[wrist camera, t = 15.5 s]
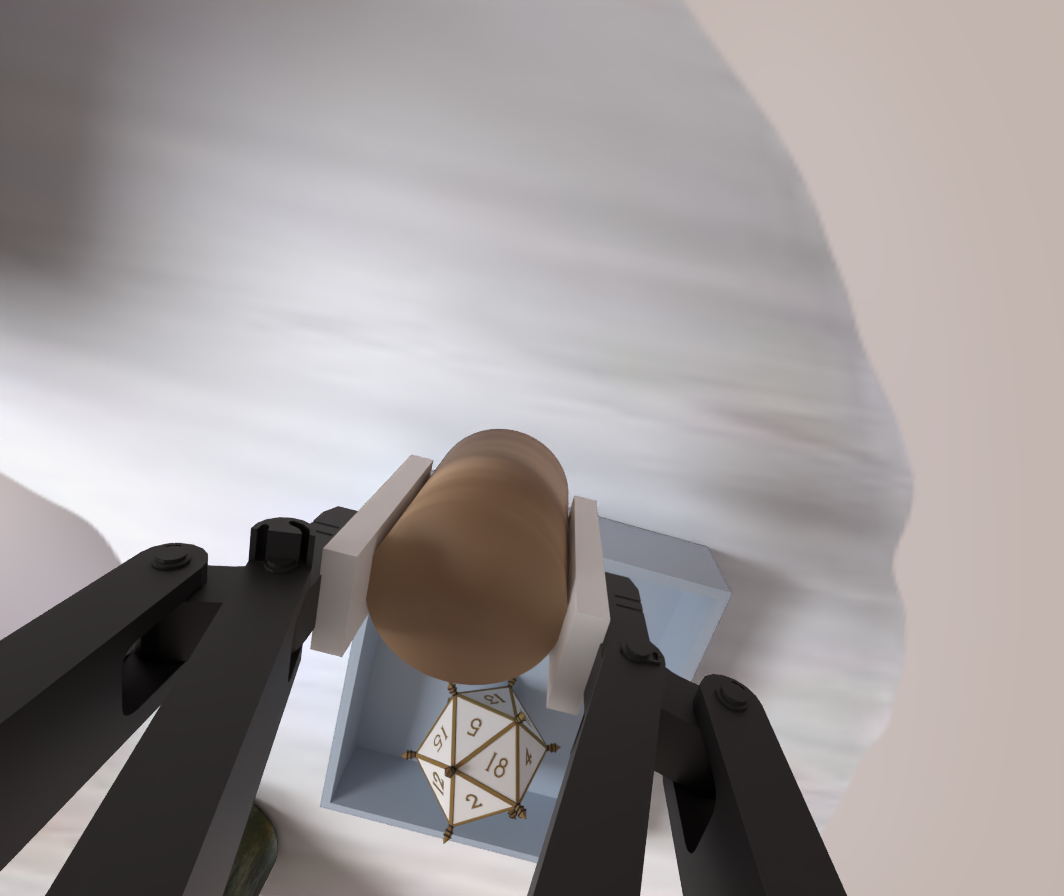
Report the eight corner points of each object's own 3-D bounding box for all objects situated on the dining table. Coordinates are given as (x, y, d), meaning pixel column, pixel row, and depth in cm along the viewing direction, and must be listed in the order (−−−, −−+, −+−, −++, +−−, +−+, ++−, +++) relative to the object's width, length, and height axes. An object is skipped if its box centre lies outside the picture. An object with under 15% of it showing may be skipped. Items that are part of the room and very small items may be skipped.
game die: (522, 658, 39) (611, 759, 32) (460, 756, 39) (534, 884, 31) (434, 629, 34) (516, 743, 26) (360, 743, 33) (420, 895, 25)
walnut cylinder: (425, 535, 20) (353, 658, 13) (448, 414, 19) (380, 484, 12) (549, 566, 20) (539, 705, 13) (583, 448, 19) (591, 537, 12)
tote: (349, 742, 39) (319, 806, 34) (408, 463, 32) (381, 496, 27) (594, 807, 39) (598, 879, 35) (707, 547, 32) (732, 593, 27)
